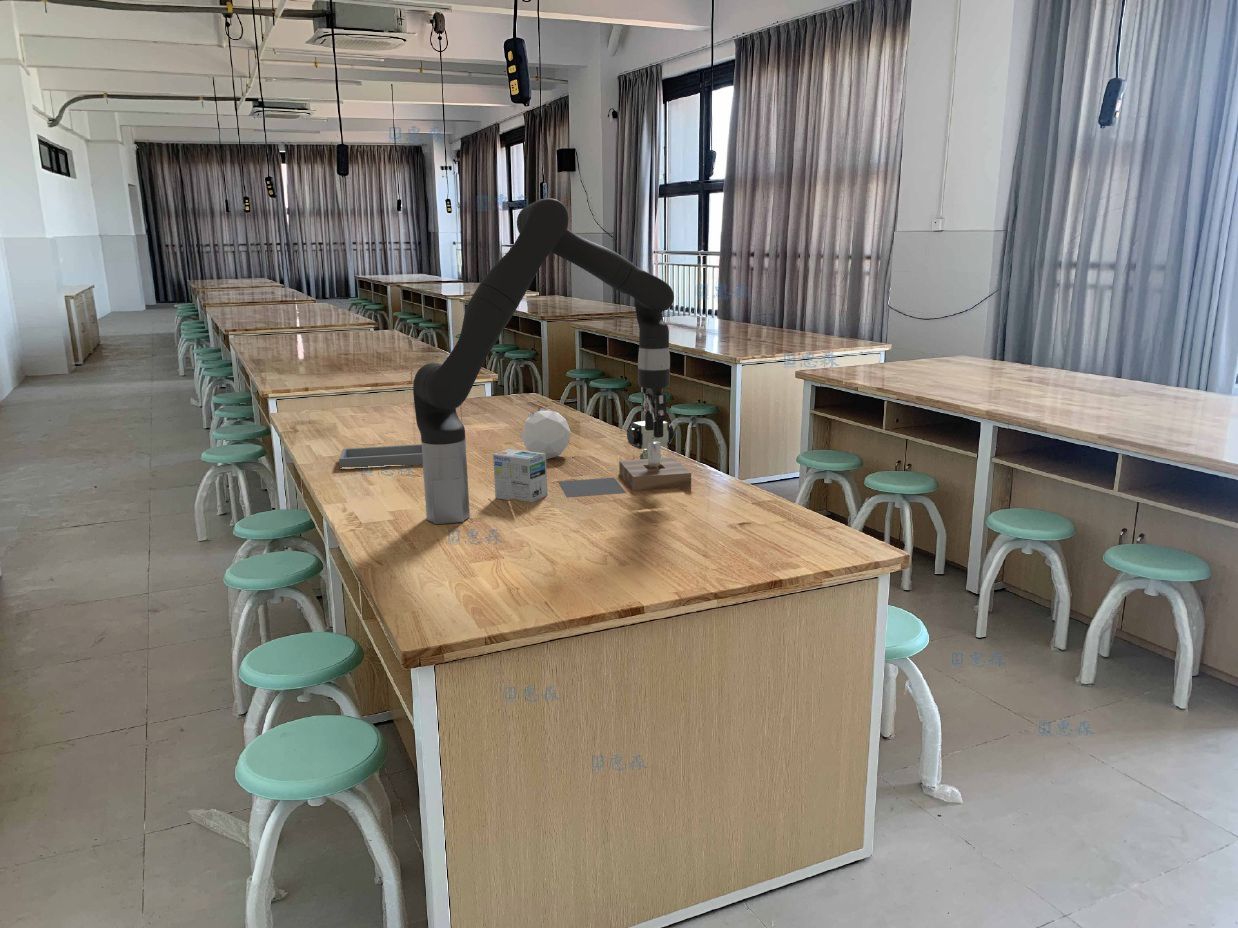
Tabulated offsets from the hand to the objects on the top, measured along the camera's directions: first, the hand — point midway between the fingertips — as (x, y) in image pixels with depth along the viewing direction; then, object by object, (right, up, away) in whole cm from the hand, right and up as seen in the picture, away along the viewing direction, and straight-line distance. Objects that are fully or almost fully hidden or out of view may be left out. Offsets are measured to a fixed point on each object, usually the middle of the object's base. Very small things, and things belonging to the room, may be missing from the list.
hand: (653, 433), depth 217 cm
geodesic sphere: (-28, -6, +30) cm, 42 cm away
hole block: (0, -12, +3) cm, 12 cm away
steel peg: (0, -12, +3) cm, 12 cm away
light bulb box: (-31, -15, -8) cm, 36 cm away
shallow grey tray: (-72, -7, +27) cm, 77 cm away
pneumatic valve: (0, -7, +22) cm, 23 cm away
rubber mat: (-15, -13, -2) cm, 20 cm away
